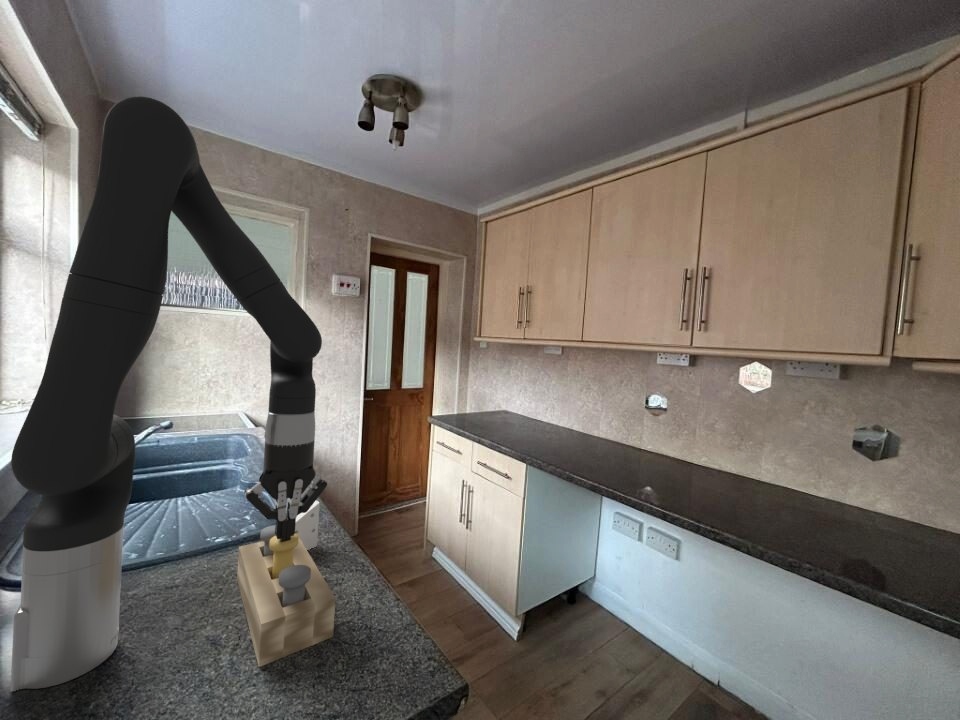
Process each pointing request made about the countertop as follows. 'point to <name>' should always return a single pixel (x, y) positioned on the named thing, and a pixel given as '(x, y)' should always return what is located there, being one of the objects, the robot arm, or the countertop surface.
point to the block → (263, 601)
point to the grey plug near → (294, 583)
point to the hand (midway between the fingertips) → (284, 539)
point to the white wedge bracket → (308, 526)
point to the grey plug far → (267, 539)
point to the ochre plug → (282, 554)
